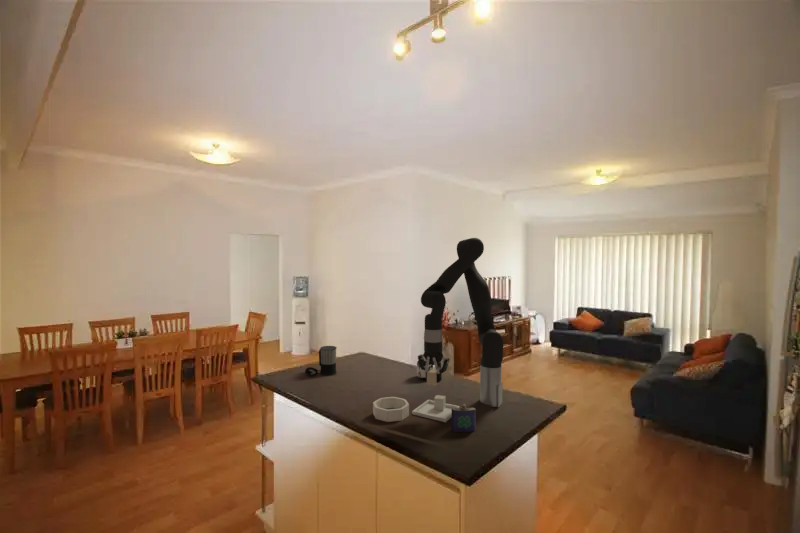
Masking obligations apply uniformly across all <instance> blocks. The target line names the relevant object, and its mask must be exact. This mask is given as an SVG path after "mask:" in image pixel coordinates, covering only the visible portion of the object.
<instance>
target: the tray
mask: <svg viewBox="0 0 800 533" xmlns="http://www.w3.org/2000/svg"><path fill="white" fill-rule="evenodd" d="M456 407H457V408H458V407H459V408H461V406H459V405H455V404H450V403H446V408H445V409H444V411H439V410H434V399H433V400H432V399H427V400H425V401H424V402H422V403H421V404H420V405H419V406H417V407H416V408H414V409H413V410H412V412H411V414H412V415H413V416H418V417H423V418H426V419H430V420H435V421H437V422H438V421H439V422H443V423H447V422H448V421H449V420H450V419H452V409H453V408H456Z"/></svg>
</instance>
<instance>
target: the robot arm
mask: <svg viewBox="0 0 800 533" xmlns="http://www.w3.org/2000/svg"><path fill="white" fill-rule="evenodd" d="M484 245H485V244H484V242H483V241H482V240H481V239H480V238H477V237H471V238H466V239H462V240H460V241H458V243H457V244H456V255H457V257H458V258H457V260H455V261H454V262H453V263H451V265H449V266H448V267H447V268H446V269H445V270H443V272H442V273H441V274H440V276H439V277H438V278H437V280H436V281H434V282H433V283H432V284H431V285H430V286H428V287H427V288H426V289H425V290H424V291H423V292H422V295H421V296H420V303H421V306H423V307H424V308H429V309H431V311H430V313H427V314H425V316H424V332H423V351H424V352H423V353H422V354H418V355H417V360H419V364H420V367H421V369H422V370H425V375H426V377H425V378H426V379H427V372H428V371H430V367H431V365H432V364H433V366H435V368H436V371H437V383H439V382H440V383H441V381H442V380H443V379H442V377H443V375H442V374H444V373H445V372H446V371H447V368H448V365H449V362H450V358H449V357H445V356H444V354H443V329H442V328H443V324H442V322H443V320H442V319H443V316H444V312H445V308H446V303H447V300H446V296H445V294H448V293H450V292H451V290H452V289H453V288H454V286H455V285H456V283H457V282H458V280H459V279H460V278H461V277H462V276H464V279H465V283H466V286H467V292H468V296H469V300H470V303H471V307H472V311H473V314H474V318H475V320H476V326H477V333H478V340H479V344H480V346H482V349H481V350H482V351H481V352H482V353H481V358H480V361H479V362H480V363H479V367H480V369H479V374H480V375H479V377H480V378H479V395H480V396H479V402H480V403H482V404H483V405H486V406H490V408H500V407H501V406H502V404H503V381H502V362H503V359H504V338H503V336H502V335H501V334H500V333H499V332H498V331H497V330H496V327H495V324H494V321H493V316H492V315H493V314H492V296H491V292H490V287H489V285H488V283H487V281H486V280H485V278H484V277H483V276H482V274H481V273H479V272H480V271H479V270H478V269H477V267H476V264H475V262H476V261H477V260H478V259H479V258H480V257H481V256H482V254H484V250H485V246H484ZM424 358H425V359H426V365H425V361H424ZM441 362H442V363H443V364H442V363H441ZM440 383H439V384H440Z"/></svg>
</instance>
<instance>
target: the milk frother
mask: <svg viewBox="0 0 800 533" xmlns="http://www.w3.org/2000/svg"><path fill="white" fill-rule="evenodd" d="M337 348H338V347H337V346H334V345H325V346H321V347H320V348H319V351H318V362H319V363H318V365H319V366H320V370H318V369H317V368H315V367H312V366H310V367H307V368H305V370H304V373H305V375H307V376H309V377H315V376H317V375H318V372H320V375H322V376H334V375H336V374H337ZM313 371H314V372H315V373H313Z"/></svg>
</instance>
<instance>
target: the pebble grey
mask: <svg viewBox="0 0 800 533" xmlns="http://www.w3.org/2000/svg"><path fill="white" fill-rule="evenodd" d="M434 396H435V397H433V398H434V399H433V401H434V410H439V411H444V409H445V408H446V402H447V398H446V395H439V394H436V395H434Z"/></svg>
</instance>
